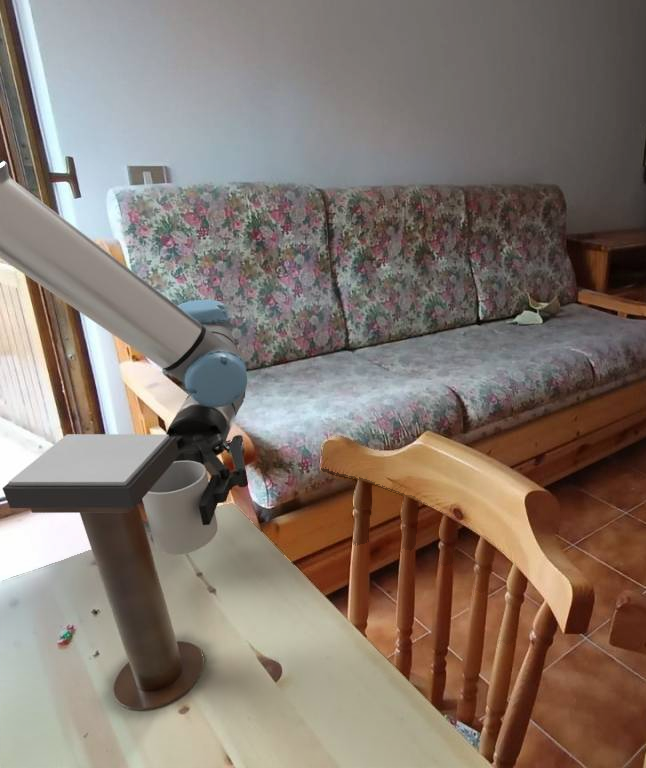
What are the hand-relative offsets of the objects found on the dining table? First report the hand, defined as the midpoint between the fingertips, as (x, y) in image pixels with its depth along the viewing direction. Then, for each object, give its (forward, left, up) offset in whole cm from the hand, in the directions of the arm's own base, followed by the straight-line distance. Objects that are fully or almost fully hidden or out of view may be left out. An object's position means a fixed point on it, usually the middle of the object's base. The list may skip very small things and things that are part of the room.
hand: (154, 520), depth 72 cm
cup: (-2, +4, -6) cm, 8 cm away
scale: (+8, -9, +13) cm, 18 cm away
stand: (+8, -9, -12) cm, 17 cm away
